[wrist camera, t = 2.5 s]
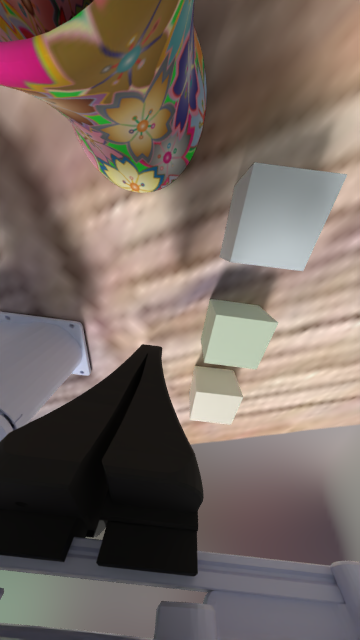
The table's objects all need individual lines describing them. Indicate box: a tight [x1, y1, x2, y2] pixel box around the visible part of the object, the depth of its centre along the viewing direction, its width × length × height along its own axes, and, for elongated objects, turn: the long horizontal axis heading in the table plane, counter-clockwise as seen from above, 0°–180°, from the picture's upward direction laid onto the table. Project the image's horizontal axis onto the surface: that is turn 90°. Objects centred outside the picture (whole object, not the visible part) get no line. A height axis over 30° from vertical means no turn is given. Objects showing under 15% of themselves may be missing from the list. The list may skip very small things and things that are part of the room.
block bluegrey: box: [220, 162, 347, 271], centre depth 11 cm, size 5×5×4 cm
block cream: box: [189, 366, 243, 425], centre depth 19 cm, size 5×5×4 cm
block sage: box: [201, 299, 278, 369], centre depth 15 cm, size 5×5×4 cm
